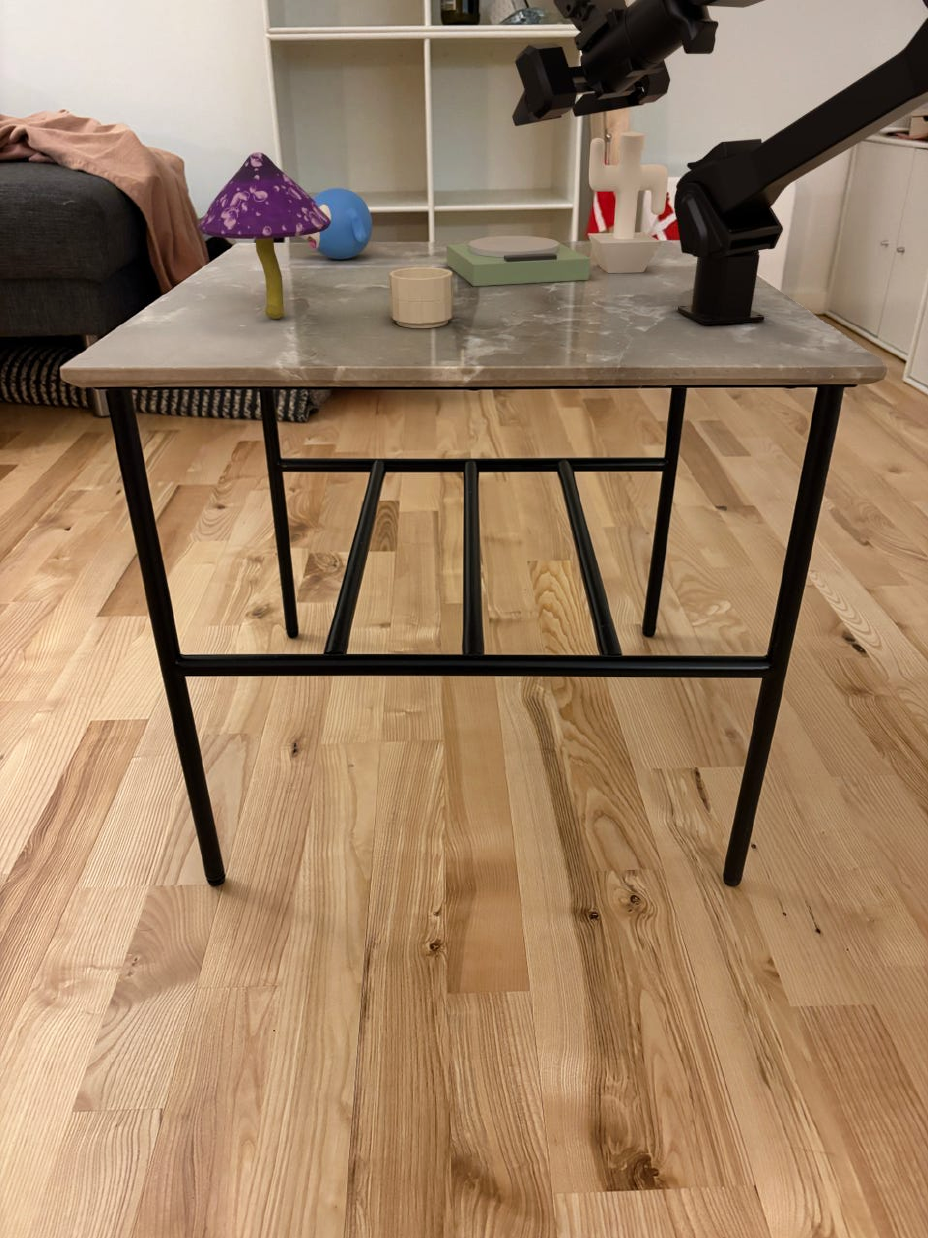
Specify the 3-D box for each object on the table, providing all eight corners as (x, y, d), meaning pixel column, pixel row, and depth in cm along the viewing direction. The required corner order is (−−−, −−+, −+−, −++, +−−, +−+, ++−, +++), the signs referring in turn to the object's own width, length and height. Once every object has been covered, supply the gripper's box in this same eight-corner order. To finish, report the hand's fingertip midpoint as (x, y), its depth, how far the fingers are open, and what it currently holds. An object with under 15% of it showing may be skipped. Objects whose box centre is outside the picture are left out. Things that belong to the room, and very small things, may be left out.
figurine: (667, 273, 111) (681, 133, 103) (590, 275, 110) (598, 134, 102) (650, 262, 117) (662, 129, 109) (577, 264, 116) (584, 130, 108)
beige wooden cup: (458, 326, 89) (458, 277, 87) (397, 330, 88) (395, 280, 85) (445, 313, 94) (444, 265, 92) (387, 316, 93) (385, 268, 90)
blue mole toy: (266, 260, 120) (258, 189, 116) (341, 249, 127) (336, 182, 123) (317, 272, 113) (311, 197, 108) (394, 260, 119) (391, 189, 115)
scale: (589, 279, 108) (591, 250, 106) (473, 286, 105) (473, 256, 103) (551, 259, 120) (552, 232, 118) (446, 264, 117) (446, 237, 115)
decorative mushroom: (204, 311, 95) (180, 149, 88) (322, 300, 99) (309, 144, 91) (221, 339, 85) (195, 159, 78) (352, 327, 89) (340, 154, 81)
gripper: (682, -57, 91) (579, 35, 104) (548, -55, 81) (453, 46, 94) (716, 58, 93) (611, 134, 106) (590, 73, 83) (491, 155, 96)
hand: (545, 116), depth 101 cm, fingers open, 9 cm apart
